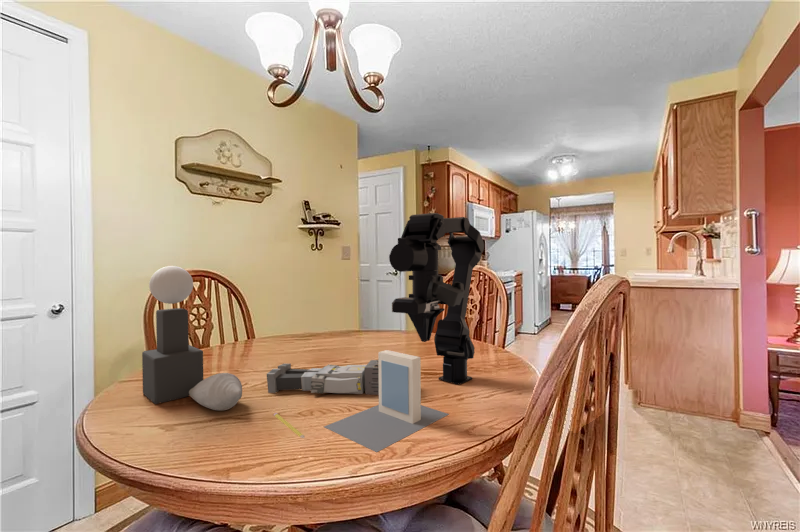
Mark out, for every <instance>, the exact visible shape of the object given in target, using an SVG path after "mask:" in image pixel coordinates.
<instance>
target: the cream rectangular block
mask: <svg viewBox="0 0 800 532" xmlns="http://www.w3.org/2000/svg"><path fill="white" fill-rule="evenodd" d="M377 352H378V357H377V358H378V359H377V360H378V366H379V395H378V405H379V411H380V412H382V413H385V414H388V415H390V416H393V417H396V418H399V419H401V420H404V421H407V422H409V423H412V424H413V423H415V422H417V421H419V420H421V405H422V404H421V403H422V402H421V401H422V400H421V399H422V397H421V396H422V395H421V394H422V393H421V392H422V391H421V389H422V388H421V387H422V386H421V383H422V381H421V379H422V377H421V376H422V375H421V370H422V368H421V367H422V365H421V364H422V363H421V356H417V355H412V354H407V353H402V352H398V351H393V350H388V349H385V350H381V351H377Z"/></svg>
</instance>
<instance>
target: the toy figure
mask: <svg viewBox="0 0 800 532" xmlns="http://www.w3.org/2000/svg"><path fill="white" fill-rule="evenodd" d="M266 382H267V384H266V385H267V393H268V394H277V393H278V392H280V391H281V390H282V391H283V390H284V391H285V390H290V391H292V390H301V392H302V391H303V392H305V391H310V394H325V393H332V394H348V395H349V394H354V395H363V394H364V392H365V395H370V396H371V395H376V396H379V366H378V359H371V360H370V361H368V363H367V364H347V365H341V366H340V365H337V364H330V363H329V364H327V365H324V366H323V367H321V368H320V367H319V368H318V367H316V368H315V367H312V368H310V369H308V368H292V364H291V363H281V364H279V365H277V368H272V369H270V371H268V372H267V373H266ZM279 390H280V391H279ZM276 392H277V393H276Z"/></svg>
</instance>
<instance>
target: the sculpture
mask: <svg viewBox="0 0 800 532" xmlns="http://www.w3.org/2000/svg"><path fill="white" fill-rule="evenodd" d="M148 284H149V285H148V287H149V291H150V293H151V295H152V296H153V297H154V299H156V300H157V301H159V302H161V303H164V304H168V305H169V304H170V305H172V304H173V305H174V304H178V303H181V302H183V301H184V300H186V299H187V298H188V297H189V296H190V295H191V293H192V292H193V289H194V280H193V277H192V275H191V274H190V273H189V272H188V270H186V269H185V268H183V267H180V266H177V265H166V266H164V267H161V268H159V269H157V270H156V271H155V272H153V274H152V275H151V277H150V279H149V283H148ZM155 313H156V314H155V317H156V319H155V320H156V348H155V349H149V350H144V351H142V354H141V358H142V359H141V363H142V365H141V366H142V367H141V368H142V369H141V370H142V393H143V395H144V396H145V397H146V398H147V399H148V400H149V401H150V402H152V403H154V405H158V404H162V403H166V402H170V401H174V400H178V399H182V398H186V397H191V396H190V395H189V391H190V389H192V388H193V387H195V386H196V385H197V384H198V383H199V382H201V381H202V380H204V351H203V350H202V349H200V348H198V347H194V346H192V345H191V344H189V310H188V309H186V308H182V307H178V308H166V309H157V310H156V311H155Z"/></svg>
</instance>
